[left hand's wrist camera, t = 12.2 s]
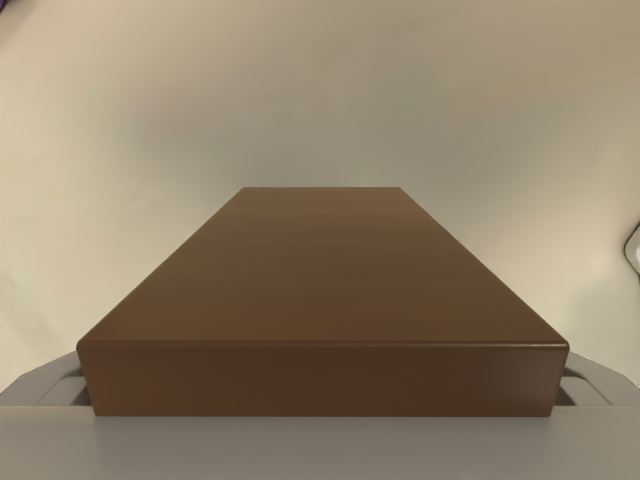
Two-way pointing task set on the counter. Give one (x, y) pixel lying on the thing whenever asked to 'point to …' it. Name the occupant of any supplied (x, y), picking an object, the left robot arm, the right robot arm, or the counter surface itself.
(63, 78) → the counter surface
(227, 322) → the box
